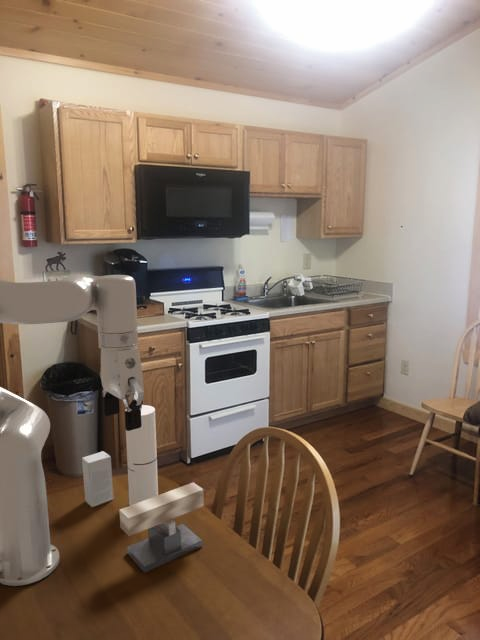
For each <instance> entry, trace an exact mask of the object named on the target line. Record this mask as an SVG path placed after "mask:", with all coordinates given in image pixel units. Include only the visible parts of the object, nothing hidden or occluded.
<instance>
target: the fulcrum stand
mask: <svg viewBox="0 0 480 640" xmlns="http://www.w3.org/2000/svg"><path fill="white" fill-rule="evenodd" d="M147 530H148V532H147V533H148V538H145V539H142V540H140V541H138V542H136V543H133V544H131V545H128V546H126V554H127V555H128V556H129V557H130V558H131V559H132V561H133V562H134V563H135V564H136V565H137V566H138V567H139V568H140V570H141V571H143V573H144V574H146V573H147V572H150V571H151V570H155V569H156V568H158V567H162V566H163V565H164V564H167V563H169V562H171V561H174V560H176V559H178V558H180V557H182V556H184V555H186V554H189V553H191V552H193V551H196V550H197V549H200V548H201V547H203V539H201V537H199V535H197V534H195V532H193V531H192V530H191V529H190V528H188V527H187V526H186V525H185V524H184V523H180V524H178V525H176V521H174V520H173V519H171V520H168V521H166V522H163V523H161V524H158V525H156V526H154V527H151V528H149V529H147Z"/></svg>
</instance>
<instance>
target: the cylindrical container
mask: <svg viewBox="0 0 480 640" xmlns="http://www.w3.org/2000/svg"><path fill="white" fill-rule="evenodd" d="M124 411H127V410H126V409H125V410H124ZM141 425H142V426H141V428H138V429H134V430H130V431H127V430H126V429H125V440H126V441H125V442H126V460H127V461H126V462H127V476H128V477H127V480H128V500H129V501H128V502H129V506H131V505H133V504H136V503H139V502H141V501H144V500H147V499H150V498H152V497H155V496H158V495H159V483H158V482H159V481H158V479H159V478H158V459H157V457H158V456H157V454H158V453H157V451H158V450H157V430H156V428H157V427H156V408H155V407H154V406H152V405H147V404H142V409H141Z"/></svg>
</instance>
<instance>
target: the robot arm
mask: <svg viewBox="0 0 480 640" xmlns="http://www.w3.org/2000/svg"><path fill="white" fill-rule="evenodd" d="M136 287H137V285H136V281H135V279H134V277H132V276H130V275H128V274H127V275H126V274H108V275H107V274H106V275H101V276H100V275H92V274H81V273H73V274H70V275H67V276H65V277H63V278H61V279H60V280H50V281H46V280H45V281H35V282H33V281H32V282H16V281H15V282H14V281H8V280H5V279H3V278H0V324H1V325H2V324H3V325H43V324H45V325H46V324H57V323H65V322H66V323H67V322H74V321H77V320H79V319H81V318H83V317H84V316H85V315H86V314H88V312H90V311H95V310H96V319H97V336H98V348H99V349H100V372H99V377H100V380H101V384H100V386H101V387H102V399H103V415H104V416H105V417H109V416H113V415H117V414H119V413H120V412H121V411H120V400H122V401H123V404H124V407H125V410H127V411H125V410H124V411H123V412H124V428H125V429H124V430H125V431H126V430H127V431H130V430H134V429H138V428H141V426H142V425H141V409H142V405H144V401H143V399H144V395H145V394H144V393H145V391H144V389H145V388H144V380H143V379H144V377H143V368H142V361H141V355H140V351H139V347H138V346H139V336H138V335H139V334H138V333H139V331H138V313H137V311H138V310H137V309H138V308H137V307H138V306H137V289H136ZM129 400H131V402H130V401H129ZM50 429H51V421H50V418H49V416H48V415H47V413H46V412H45V410H43V409H42V408H40V407H39V406H37V405H36V404H34V403H32V402H31V401H28V400H26V399H24V398H22V397H21V396H19V395H17V394H15V393H14V392H11V391H10V390H7V389H5V388H3V387H2V386H0V584H2V585H6V586H10V587H12V586H13V587H17V586H26V585H30V584H34V583H35V582H39V581H41V580H42V579H43V578H46V577H47V576H49V575H50V574H51V573H52V572H53V571H55V570H56V568H57V567H58V565H59V563H60V551H59V550H58V548H57V547H56V546H54V545H53V544H51V535H50V534H51V533H50V522H49V510H48V498H47V487H46V486H47V485H46V479H45V473H44V468H43V462H42V450H43V448H44V445H45V443H46V441H47V439H48V436H49V434H50Z"/></svg>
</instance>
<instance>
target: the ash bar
mask: <svg viewBox="0 0 480 640" xmlns="http://www.w3.org/2000/svg"><path fill="white" fill-rule="evenodd" d="M204 503H205V502H204V488H202V487H201V486H199V484H196V483H195V482H194V481H192V482H190V483H188V484H185V485H182V486H180V487H177V488H174V489H171V490H169V491H166V492H164V493H161V494H158V496H155V497H152V498H150V499H147V500H144V501H141V502H139V503H136V504H133V505H131V506H130V505H129V506H126V507H123V508H120V509H119V523H120V524H119V527H120V529H121V530H122V531H124V533H125V534H126V535H127V536H128V537H131V536H133V535H136V534H138V533H141V532H144V531H146V530H148V529H149V528H151V527H154V526H156V525H158V524H161V523H163V522H166V521H168V520H171V519H172V520H173V519H176V518H178V517H180V516H183V515H185V514H188V513H190V512H192V511H194V510H195V511H196V510H197V509H199V508H202V507H204V506H205V505H204Z"/></svg>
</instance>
